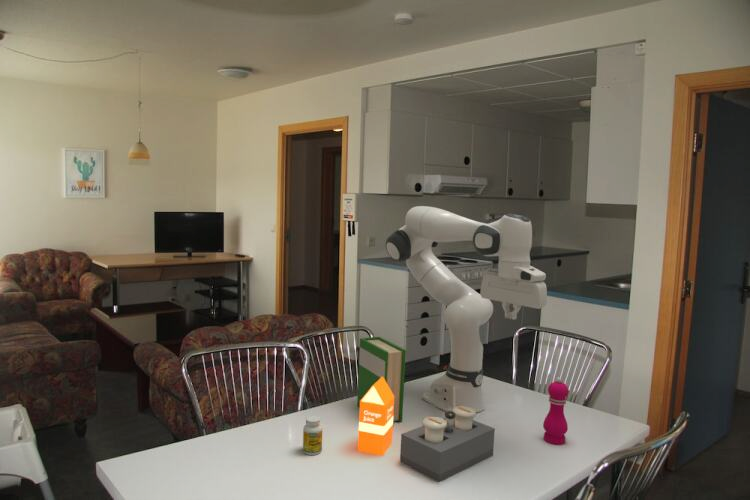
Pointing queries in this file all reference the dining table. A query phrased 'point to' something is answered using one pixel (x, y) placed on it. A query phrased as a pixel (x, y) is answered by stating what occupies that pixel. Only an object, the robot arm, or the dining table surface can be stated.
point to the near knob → (434, 429)
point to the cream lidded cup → (463, 417)
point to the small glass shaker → (449, 421)
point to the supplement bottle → (312, 436)
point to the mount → (447, 450)
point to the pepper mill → (556, 413)
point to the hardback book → (382, 370)
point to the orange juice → (376, 419)
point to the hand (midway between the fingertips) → (510, 318)
